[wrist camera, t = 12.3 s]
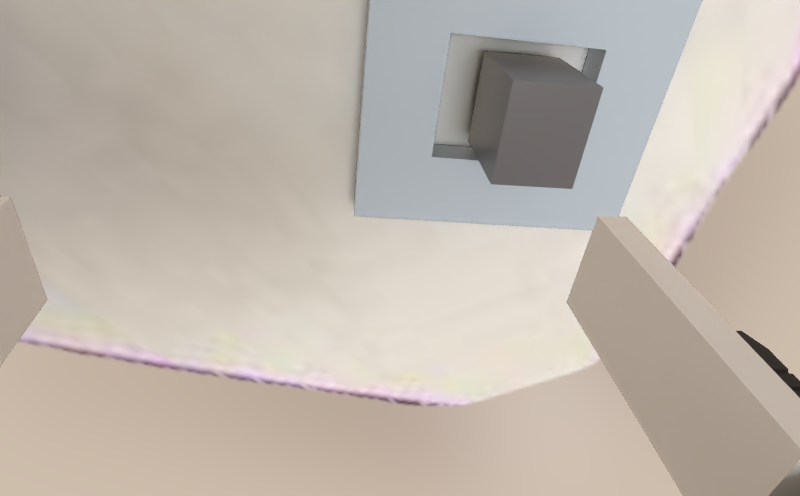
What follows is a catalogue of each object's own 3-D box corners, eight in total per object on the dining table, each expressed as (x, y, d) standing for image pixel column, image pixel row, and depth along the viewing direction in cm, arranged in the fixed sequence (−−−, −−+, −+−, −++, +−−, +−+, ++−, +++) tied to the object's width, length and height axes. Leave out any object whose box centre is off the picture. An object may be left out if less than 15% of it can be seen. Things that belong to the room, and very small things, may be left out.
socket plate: (354, 200, 39) (354, 216, 37) (374, -76, 30) (375, -76, 28) (599, 216, 42) (612, 231, 40) (690, -34, 32) (713, -31, 30)
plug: (464, 133, 37) (491, 184, 30) (479, 46, 34) (513, 80, 27) (530, 137, 38) (572, 189, 30) (551, 52, 34) (603, 87, 27)
